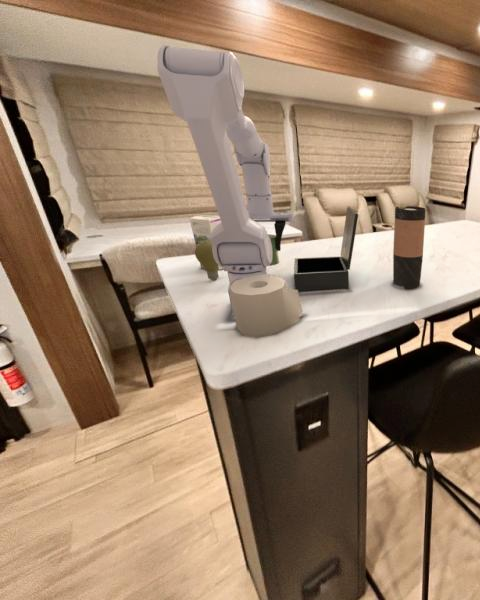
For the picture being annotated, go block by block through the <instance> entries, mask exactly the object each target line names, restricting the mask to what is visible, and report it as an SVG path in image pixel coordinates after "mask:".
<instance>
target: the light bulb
mask: <svg viewBox="0 0 480 600" xmlns="http://www.w3.org/2000/svg"><path fill="white" fill-rule="evenodd" d="M194 255H195V256H194V257H195V258H196V260H197V261H198V262H199V264H200V263H201V264H202V266H203V267H204V268H203V269H204V271H205V272H206V274H207V278H208V279H210V280H211V281H216V280H217V279H219V277H220V275H219V271H218V264H217V263H216V261H215V259H214V256H213V251H212V244H211V242H203V243H200V244H199V245H198V246H197V247H196V246H195V249H194Z"/></svg>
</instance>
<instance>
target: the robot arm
mask: <svg viewBox="0 0 480 600" xmlns="http://www.w3.org/2000/svg"><path fill="white" fill-rule="evenodd" d="M156 56H157V57H156V58H157V65H156V68H157V72H158V73H157V74H158V76H159V79H160V81H161V84H162V87H163V90H164V92H165V96H166V97H167V100H168V103H169V106H170V107H171V110H172V113H173V114H174V116H176V117H178V118H179V119H181V120H183V121H184V122H186V124H187V127H188V129H189V132H190V135H191V137H192V141H193V143H194V147H195V149H196V152H197V155H198V158H199V161H200V164H201V166H202V170H203V172H204V176H205V178H206V181H207V185H208V187H209V190H210V193H211V196H212V199H213V202H214V206H215V208H216V211H217V214H218V216H219V217H220V220H221V223H220V224H218V225H217V226H216V227H215V228H214V229H213V231H212V233H211V237H210V241H211V244H212V251H213V256H214V259H215V261H216V263H217V264H218V265H219V266H221V267H223V268H222V270H223V272H227V276H228V282H229V285H228V288H227V293H228V299H229V303H230V309H231V313H232V317H233V318H235V315H234V310H233V305H232V300H231V295H230V290H229V287H230V286H231V285H232V284H233V283H234V281H236V280H239V279H242V278H247V277H248V276H257V275H268V272H267V267H270V266H269V265H270V264H271V262H272V257H273V251H272V244H271V240H270V238H269V237H268V234H269V233H268V231H267V230H266V227H265V226H264V225H262V224H260V223H274V224H273V225H274V231H275V235H276V240H277V251H278V252H281V250H282V248H281V245H282V237H283V233H284V230H285V227H286V225H287V222H288V223H294V215H293V212H292V213H291V212H274V204H273V202H274V201H273V194H272V187H271V179H270V175H271V154H270V148H269V145H268V143H267V142H264V140H262V139H261V137H260V134H259V132H258V130H257V128H256V126H255V124H254V121H252V119H251V118H249V117H248V116H246V115H245V114H244V111H243V109H242V107H243V100H244V97H245V83H244V76H243V73H242V68H241V64H240V62H239V60H238V57H237V56H235V55H234V53H233V52H232V51H230V50H227V51H218V50H207V49H199V48H198V49H197V48H196V49H195V48H188V47H187V48H186V47H177V46H170V45H167V44H161V45H160V46H159V49H158V51H157V55H156ZM230 143H231V144H230ZM231 145H233V151H232V148H231ZM233 152H234V154H235V157H236V161H237V163H238V164H237V165H239V166H240V167H241V170H242V171H241V172H242V179H243V185H244V192H245V196H244V193H243V189H242V184H241V181H240V177H239V172H238V170H237V166H236V162H235V158H234V155H233ZM245 198H246V200H245Z"/></svg>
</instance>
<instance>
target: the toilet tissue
mask: <svg viewBox="0 0 480 600" xmlns="http://www.w3.org/2000/svg"><path fill="white" fill-rule="evenodd" d="M228 287H229V286H228ZM229 290H230V295H231V300H232V305H233V310H234V315H235V317H234V321H235V325H236V329H237V330H238V332H239V333H240V334H241V335H242V336H248V337H253V338H254V337H255V338H259V337H266V336H271V335H272V336H273V335H276V334H278V333H280V332H282V331H284V330H286V329H287V328H289V327H291V326H293V325H295V324H298V323H299V322H300V321H301V320H302V318H303V317H304V315H302V314H303V312H304V311H303V306H302V302H301V297H300V294H299V293H300V292H298V290H295V288H289V287H288V288H287V281H286V280H284V278H282V277H281V276H277V275H270V274H267V275H257V276H248V277H247V278H242V279H239V280H236V281H234V283H233V284H232V285H231V286H230V287H229ZM301 315H302V316H301Z"/></svg>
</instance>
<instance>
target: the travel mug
mask: <svg viewBox="0 0 480 600" xmlns="http://www.w3.org/2000/svg"><path fill="white" fill-rule="evenodd" d="M394 207H395V208H394V227H393V228H394V229H393V250H392V252H393V253H392V255H393V256H392V259H393V260H392V263H393V264H392V265H393V266H392V269H393V271H392V275H393V276H392V277H393V279H392V281H393V282H392V283H393V284H394V285H396V286H398V287H401V288H403V289H404V290H415V289H418V288H419V287H420V286H421V278H422V277H421V276H422V267H423V260H424V259H423V258H424V243H425V227H426V208H425V207H421V206H414V205H408V206H406V207H404V208H400V207H399V206H394Z"/></svg>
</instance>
